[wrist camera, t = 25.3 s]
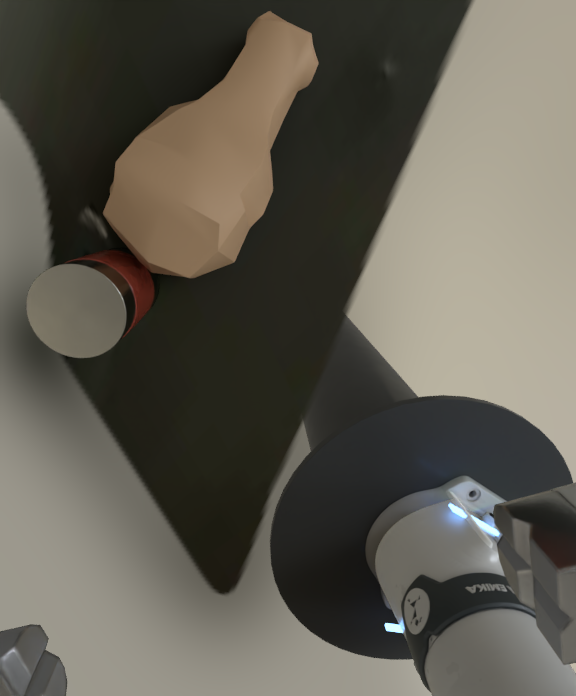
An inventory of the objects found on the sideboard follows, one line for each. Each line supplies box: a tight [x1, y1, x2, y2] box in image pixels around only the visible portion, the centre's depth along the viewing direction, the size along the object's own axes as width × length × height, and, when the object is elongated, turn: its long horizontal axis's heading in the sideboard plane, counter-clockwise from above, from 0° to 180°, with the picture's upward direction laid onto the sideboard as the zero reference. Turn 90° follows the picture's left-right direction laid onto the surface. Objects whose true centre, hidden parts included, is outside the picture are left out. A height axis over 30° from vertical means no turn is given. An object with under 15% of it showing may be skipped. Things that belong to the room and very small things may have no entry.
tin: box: [26, 248, 159, 358], centre depth 33 cm, size 6×6×11 cm
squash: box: [103, 11, 319, 278], centre depth 33 cm, size 11×20×9 cm, turn 148°
